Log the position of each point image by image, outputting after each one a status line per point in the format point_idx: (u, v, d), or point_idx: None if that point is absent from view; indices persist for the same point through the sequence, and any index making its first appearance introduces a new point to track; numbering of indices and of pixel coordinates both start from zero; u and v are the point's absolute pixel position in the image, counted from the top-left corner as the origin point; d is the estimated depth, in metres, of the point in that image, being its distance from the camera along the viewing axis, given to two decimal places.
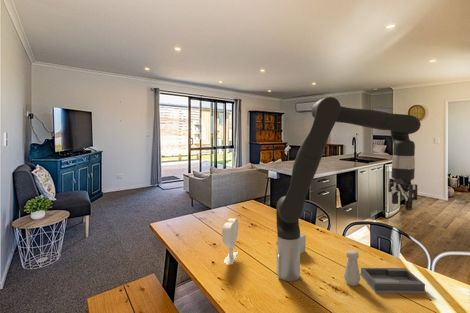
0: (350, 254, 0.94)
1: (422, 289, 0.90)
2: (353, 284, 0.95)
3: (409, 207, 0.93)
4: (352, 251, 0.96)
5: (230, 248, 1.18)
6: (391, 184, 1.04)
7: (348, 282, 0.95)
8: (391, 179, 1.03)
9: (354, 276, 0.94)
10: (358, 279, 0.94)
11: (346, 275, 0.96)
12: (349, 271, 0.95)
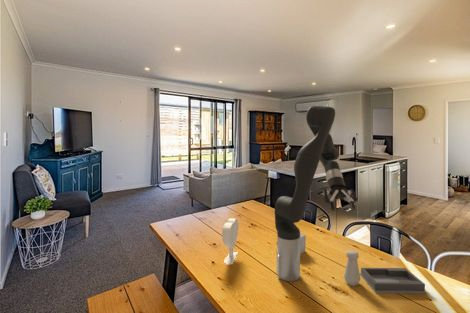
0: (350, 254, 0.94)
1: (422, 289, 0.90)
2: (353, 284, 0.95)
3: None
4: (352, 251, 0.96)
5: (230, 248, 1.18)
6: None
7: (348, 282, 0.95)
8: (326, 190, 1.16)
9: (354, 276, 0.94)
10: (358, 279, 0.94)
11: (346, 275, 0.96)
12: (349, 271, 0.95)
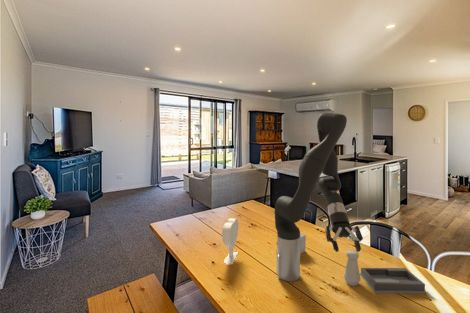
0: (350, 254, 0.94)
1: (422, 289, 0.90)
2: (353, 284, 0.95)
3: None
4: (352, 251, 0.96)
5: (230, 248, 1.18)
6: None
7: (348, 282, 0.95)
8: (328, 227, 1.06)
9: (354, 276, 0.94)
10: (358, 279, 0.94)
11: (346, 275, 0.96)
12: (349, 271, 0.95)
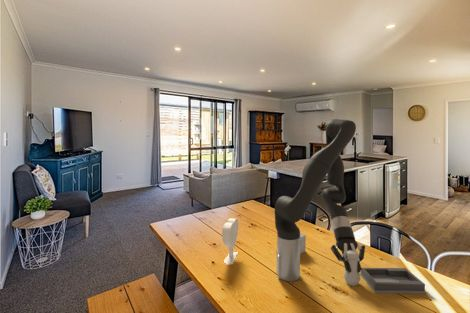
0: (350, 254, 0.94)
1: (422, 289, 0.90)
2: (353, 284, 0.95)
3: None
4: (352, 251, 0.96)
5: (230, 248, 1.18)
6: None
7: (348, 282, 0.95)
8: (333, 245, 1.00)
9: (354, 276, 0.94)
10: (358, 279, 0.94)
11: (346, 275, 0.96)
12: None
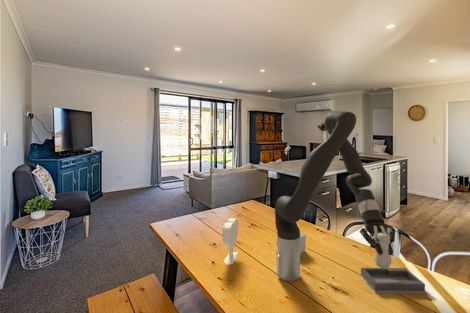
0: (382, 236, 0.93)
1: (422, 289, 0.90)
2: (384, 266, 0.94)
3: None
4: (383, 233, 0.95)
5: (230, 248, 1.18)
6: None
7: (379, 264, 0.94)
8: None
9: (385, 258, 0.93)
10: (390, 261, 0.93)
11: (377, 257, 0.95)
12: None
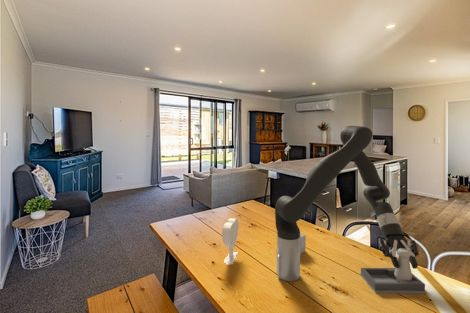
0: (402, 252, 0.94)
1: (422, 289, 0.90)
2: None
3: None
4: (403, 249, 0.95)
5: (230, 248, 1.18)
6: None
7: (400, 280, 0.95)
8: (382, 240, 1.00)
9: (406, 274, 0.93)
10: (411, 277, 0.93)
11: (398, 273, 0.95)
12: (401, 270, 0.94)
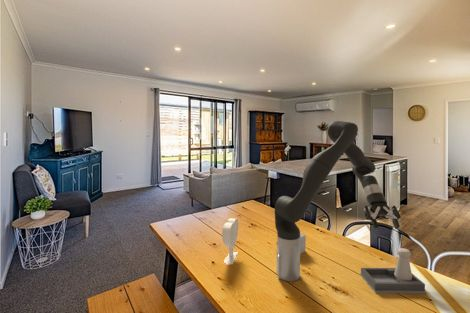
0: (403, 252, 0.94)
1: (422, 289, 0.90)
2: None
3: None
4: (403, 249, 0.95)
5: (230, 248, 1.18)
6: None
7: (400, 280, 0.95)
8: None
9: (406, 274, 0.93)
10: (411, 277, 0.93)
11: (398, 273, 0.95)
12: (401, 270, 0.94)
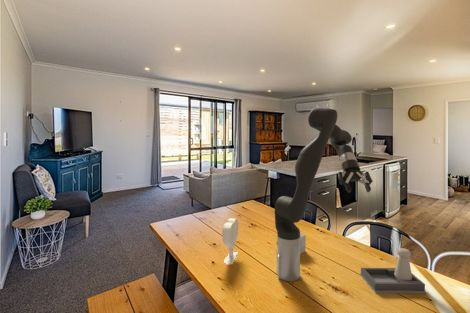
0: (403, 252, 0.94)
1: (422, 289, 0.90)
2: None
3: None
4: (403, 249, 0.95)
5: (230, 248, 1.18)
6: None
7: (400, 280, 0.95)
8: None
9: (406, 274, 0.93)
10: (411, 277, 0.93)
11: (398, 273, 0.95)
12: (401, 270, 0.94)
